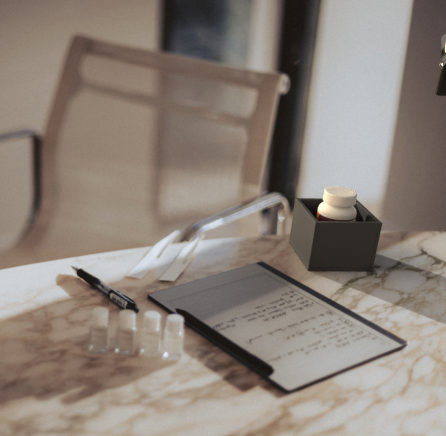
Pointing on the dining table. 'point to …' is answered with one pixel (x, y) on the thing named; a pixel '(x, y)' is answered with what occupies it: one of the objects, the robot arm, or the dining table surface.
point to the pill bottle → (337, 205)
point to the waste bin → (334, 238)
